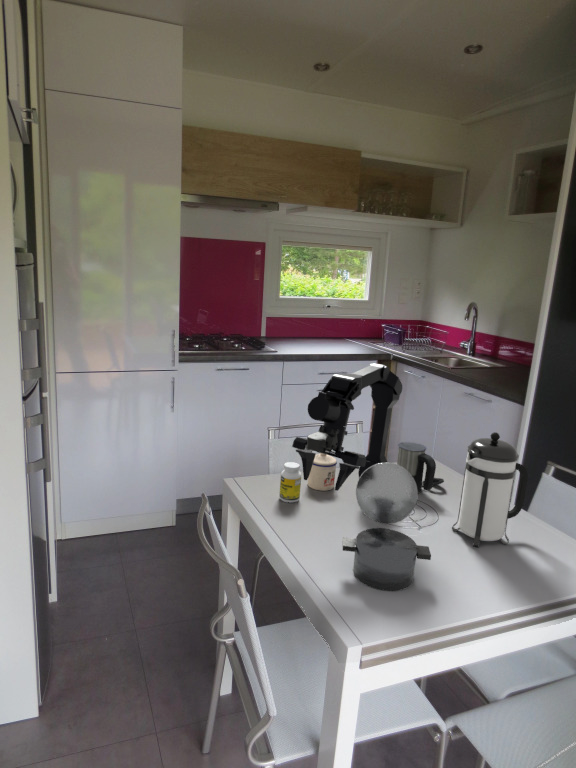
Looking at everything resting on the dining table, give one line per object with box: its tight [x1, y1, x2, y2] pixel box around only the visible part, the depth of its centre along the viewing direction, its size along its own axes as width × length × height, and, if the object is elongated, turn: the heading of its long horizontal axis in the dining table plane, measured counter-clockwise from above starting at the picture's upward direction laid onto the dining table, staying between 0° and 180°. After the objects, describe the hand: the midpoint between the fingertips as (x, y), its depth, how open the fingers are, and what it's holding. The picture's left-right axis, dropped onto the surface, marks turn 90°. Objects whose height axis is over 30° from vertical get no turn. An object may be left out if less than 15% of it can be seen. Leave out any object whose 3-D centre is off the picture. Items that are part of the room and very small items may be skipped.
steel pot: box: [342, 527, 432, 592], centre depth 126 cm, size 15×20×8 cm
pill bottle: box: [279, 461, 302, 504], centre depth 163 cm, size 6×6×11 cm
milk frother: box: [396, 441, 445, 494], centre depth 178 cm, size 14×16×15 cm
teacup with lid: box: [307, 453, 338, 492], centre depth 176 cm, size 12×9×12 cm
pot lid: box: [355, 461, 419, 525], centre depth 134 cm, size 15×15×2 cm
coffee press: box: [451, 432, 529, 549], centre depth 146 cm, size 17×16×30 cm
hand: (320, 485), depth 135 cm, fingers open, 9 cm apart
